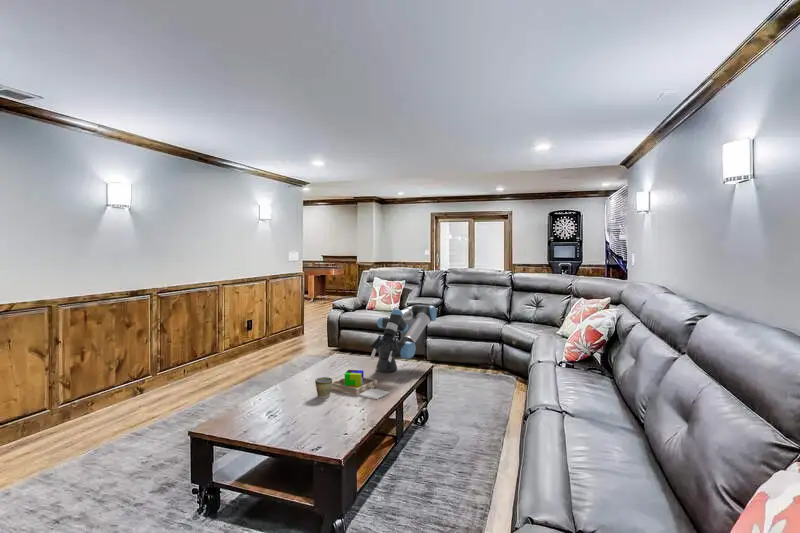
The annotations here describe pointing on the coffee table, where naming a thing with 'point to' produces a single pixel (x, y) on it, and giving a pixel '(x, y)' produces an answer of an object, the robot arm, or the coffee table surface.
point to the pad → (374, 393)
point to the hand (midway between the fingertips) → (380, 359)
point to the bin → (341, 387)
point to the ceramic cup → (323, 387)
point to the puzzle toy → (354, 378)
